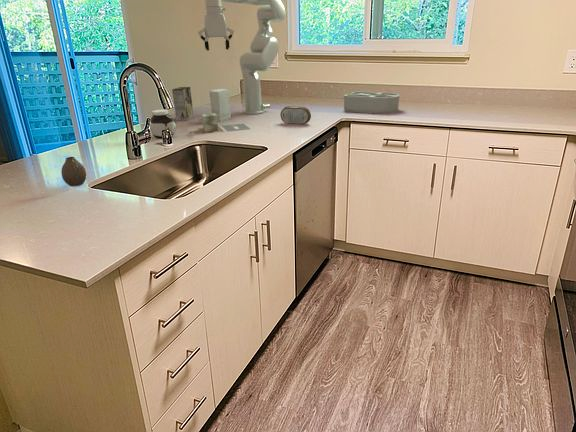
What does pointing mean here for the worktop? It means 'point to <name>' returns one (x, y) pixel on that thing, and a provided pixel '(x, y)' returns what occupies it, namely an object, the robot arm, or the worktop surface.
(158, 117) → the spread jar
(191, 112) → the coffee box
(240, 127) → the plate
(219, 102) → the skincare box
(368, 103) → the compartment organizer box
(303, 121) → the tin
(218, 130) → the pad
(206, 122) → the sage block
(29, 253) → the worktop surface
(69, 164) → the vase
